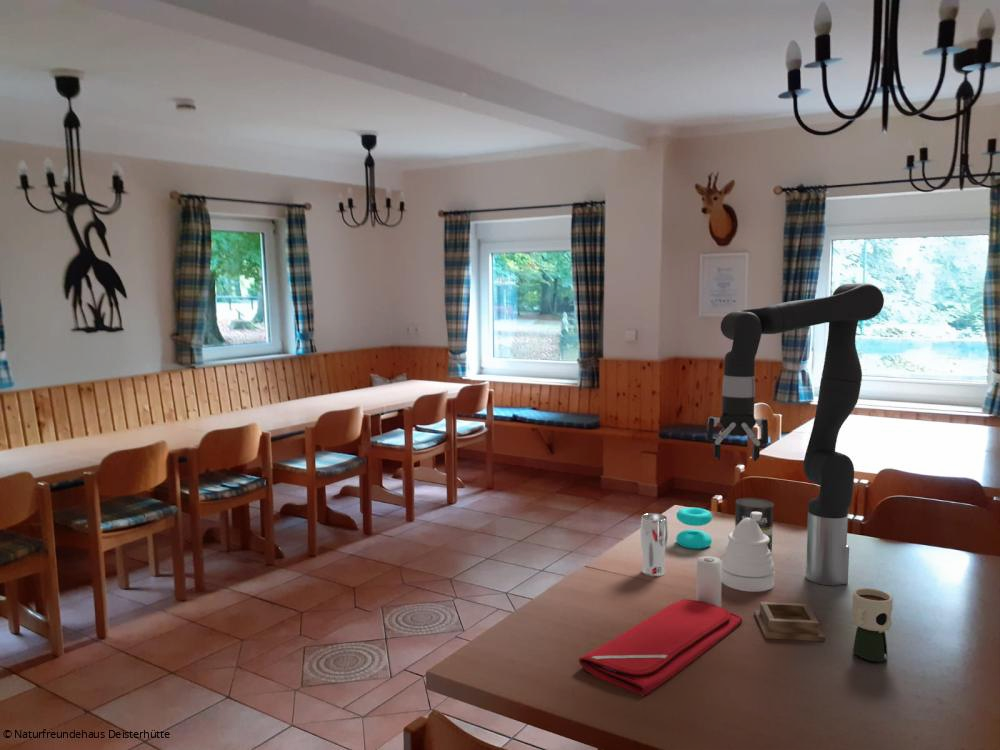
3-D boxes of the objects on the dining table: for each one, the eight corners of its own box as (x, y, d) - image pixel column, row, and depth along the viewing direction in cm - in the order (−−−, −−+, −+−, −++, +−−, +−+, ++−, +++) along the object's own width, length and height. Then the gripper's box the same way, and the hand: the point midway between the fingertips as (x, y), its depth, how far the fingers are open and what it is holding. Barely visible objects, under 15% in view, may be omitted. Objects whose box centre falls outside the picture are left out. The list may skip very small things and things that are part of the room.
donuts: (671, 512, 217) (683, 504, 226) (671, 546, 218) (682, 536, 227) (706, 517, 212) (716, 509, 220) (705, 552, 213) (715, 542, 222)
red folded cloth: (744, 625, 167) (744, 609, 167) (646, 700, 137) (646, 680, 137) (680, 606, 178) (680, 591, 177) (576, 672, 147) (576, 654, 147)
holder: (809, 617, 170) (809, 602, 170) (824, 641, 158) (825, 625, 158) (754, 614, 172) (754, 599, 171) (765, 638, 160) (765, 622, 159)
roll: (719, 601, 179) (719, 556, 178) (723, 611, 173) (723, 563, 172) (695, 601, 180) (695, 555, 179) (698, 610, 174) (698, 563, 173)
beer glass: (669, 577, 195) (670, 520, 193) (642, 577, 195) (643, 520, 193) (664, 567, 202) (665, 513, 200) (638, 567, 202) (638, 513, 200)
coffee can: (773, 558, 207) (774, 508, 206) (734, 555, 210) (735, 506, 209) (771, 546, 217) (772, 498, 216) (734, 543, 220) (735, 496, 219)
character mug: (873, 672, 145) (876, 607, 144) (838, 658, 151) (840, 595, 150) (901, 655, 152) (904, 593, 150) (866, 642, 157) (869, 582, 156)
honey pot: (766, 573, 197) (768, 506, 195) (780, 592, 184) (782, 521, 182) (716, 572, 198) (717, 505, 196) (726, 591, 185) (727, 520, 183)
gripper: (766, 392, 185) (763, 457, 187) (706, 391, 188) (704, 455, 189) (772, 396, 178) (769, 464, 180) (709, 395, 180) (707, 462, 182)
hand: (736, 459), depth 185 cm, fingers open, 8 cm apart
